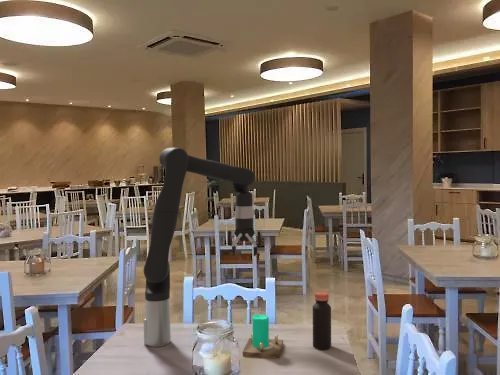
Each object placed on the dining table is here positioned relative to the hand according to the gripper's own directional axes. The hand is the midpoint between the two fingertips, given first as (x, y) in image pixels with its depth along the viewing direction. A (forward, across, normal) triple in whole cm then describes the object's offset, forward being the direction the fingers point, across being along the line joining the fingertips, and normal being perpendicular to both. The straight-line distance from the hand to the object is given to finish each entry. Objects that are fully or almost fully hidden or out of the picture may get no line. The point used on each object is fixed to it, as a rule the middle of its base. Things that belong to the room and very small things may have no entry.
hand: (244, 255), depth 188 cm
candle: (+29, +10, -23) cm, 38 cm away
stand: (+30, +11, -23) cm, 39 cm away
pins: (+29, +11, -24) cm, 39 cm away
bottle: (+30, +32, -17) cm, 47 cm away
